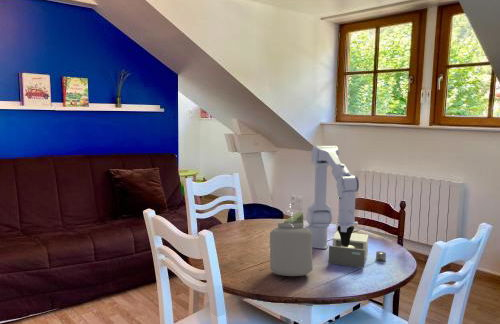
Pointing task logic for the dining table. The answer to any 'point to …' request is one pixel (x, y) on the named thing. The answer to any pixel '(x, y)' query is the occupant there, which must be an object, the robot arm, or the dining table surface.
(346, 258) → the grey box with handle
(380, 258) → the stand
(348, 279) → the dining table surface
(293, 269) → the jar
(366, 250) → the box
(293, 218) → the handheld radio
